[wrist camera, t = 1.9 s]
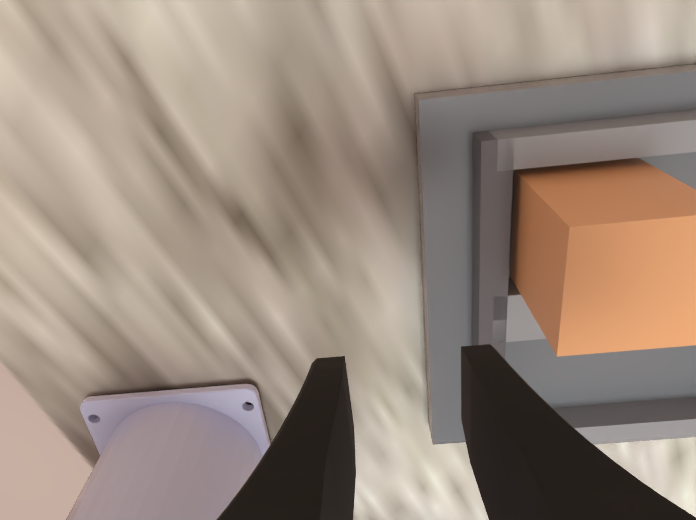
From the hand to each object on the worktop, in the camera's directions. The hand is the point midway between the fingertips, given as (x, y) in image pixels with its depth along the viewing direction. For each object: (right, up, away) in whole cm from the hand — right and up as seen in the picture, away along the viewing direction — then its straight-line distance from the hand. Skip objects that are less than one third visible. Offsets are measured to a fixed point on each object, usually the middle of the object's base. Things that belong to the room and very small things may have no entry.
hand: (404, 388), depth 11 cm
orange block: (+7, +4, +7) cm, 10 cm away
